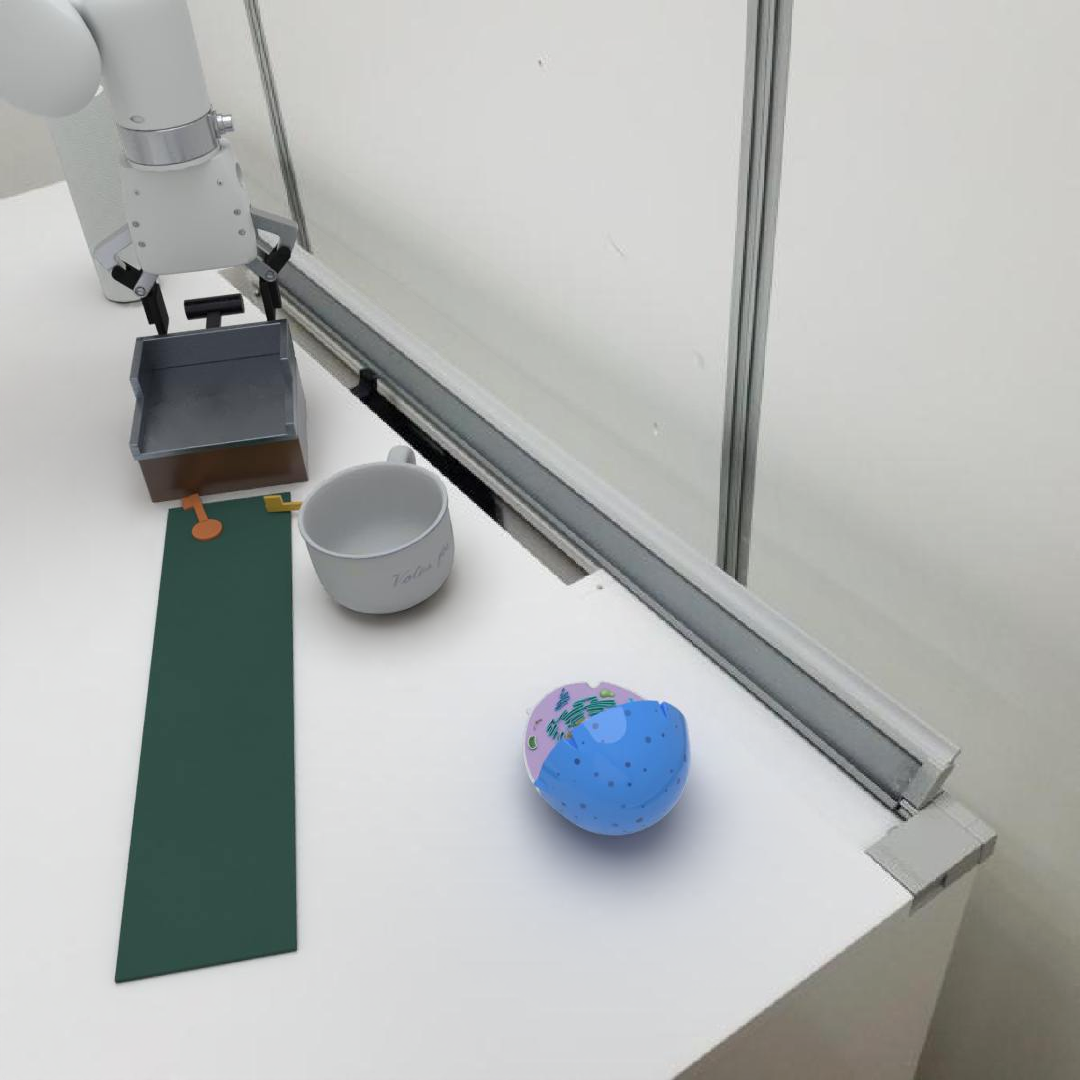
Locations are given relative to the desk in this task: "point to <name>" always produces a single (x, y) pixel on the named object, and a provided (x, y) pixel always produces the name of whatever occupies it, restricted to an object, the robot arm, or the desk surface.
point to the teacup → (379, 534)
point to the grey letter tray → (213, 384)
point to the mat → (216, 752)
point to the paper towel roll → (95, 181)
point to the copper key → (202, 520)
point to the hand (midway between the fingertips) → (218, 322)
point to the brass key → (280, 504)
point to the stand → (231, 465)
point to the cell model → (607, 756)
